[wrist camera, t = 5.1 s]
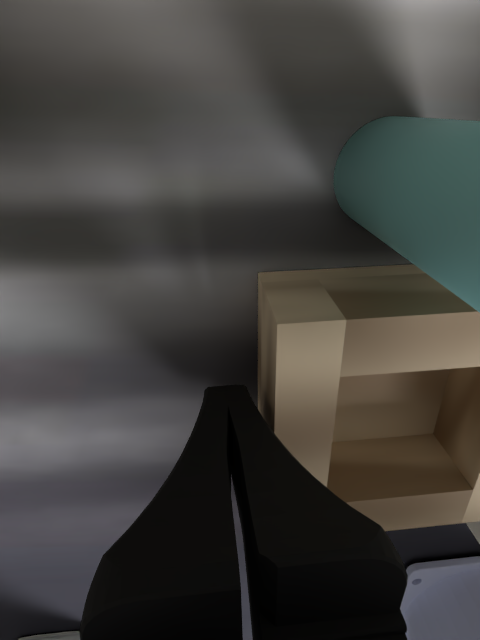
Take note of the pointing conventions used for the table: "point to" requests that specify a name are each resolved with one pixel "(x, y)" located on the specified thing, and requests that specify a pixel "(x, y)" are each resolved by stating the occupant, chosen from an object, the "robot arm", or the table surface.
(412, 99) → the table surface
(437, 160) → the dowel
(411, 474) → the socket block
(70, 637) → the skincare box
